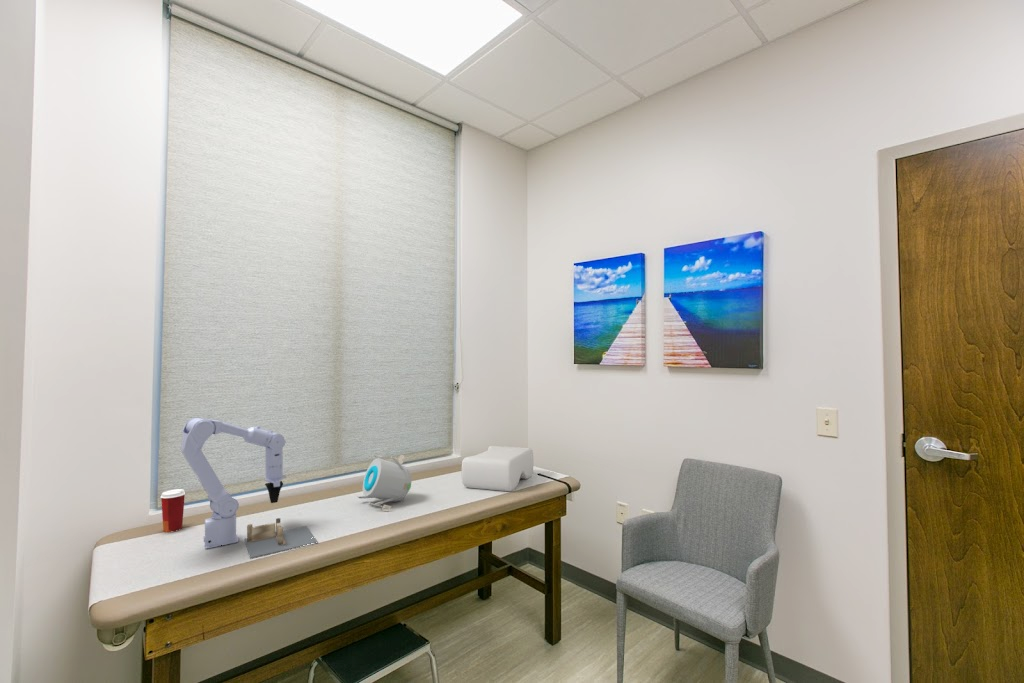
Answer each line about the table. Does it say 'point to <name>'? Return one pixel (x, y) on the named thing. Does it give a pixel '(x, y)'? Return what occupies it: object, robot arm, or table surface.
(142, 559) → the table surface
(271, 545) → the card
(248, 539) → the fixed fence
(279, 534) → the fence gate
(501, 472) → the knee pillow
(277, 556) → the table surface
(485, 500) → the table surface
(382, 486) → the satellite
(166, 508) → the paper cup
